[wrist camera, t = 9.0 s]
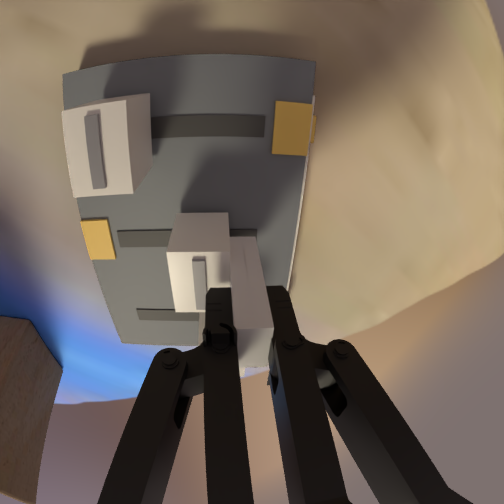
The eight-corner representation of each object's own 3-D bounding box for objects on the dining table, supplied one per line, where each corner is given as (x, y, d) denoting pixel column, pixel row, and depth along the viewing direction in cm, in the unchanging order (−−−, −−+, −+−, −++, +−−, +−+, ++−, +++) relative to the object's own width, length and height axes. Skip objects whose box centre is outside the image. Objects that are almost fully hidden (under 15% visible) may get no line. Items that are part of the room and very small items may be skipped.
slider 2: (181, 267, 19) (175, 314, 15) (176, 213, 16) (165, 254, 13) (227, 267, 19) (230, 314, 16) (228, 212, 17) (230, 254, 13)
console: (126, 327, 25) (121, 344, 23) (77, 72, 13) (60, 74, 11) (277, 326, 27) (281, 344, 25) (312, 63, 14) (324, 62, 12)
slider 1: (103, 168, 14) (71, 199, 11) (97, 99, 12) (59, 111, 9) (152, 164, 15) (132, 195, 11) (150, 93, 12) (124, 100, 9)
